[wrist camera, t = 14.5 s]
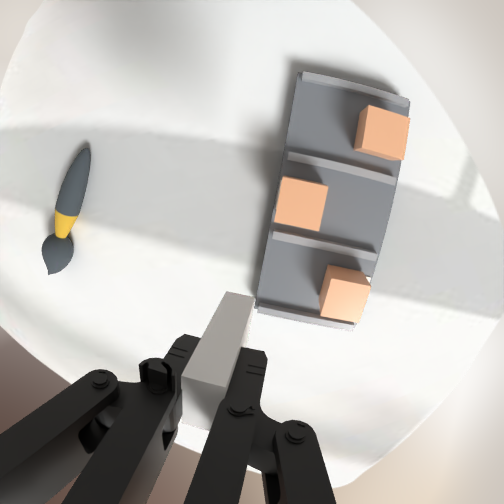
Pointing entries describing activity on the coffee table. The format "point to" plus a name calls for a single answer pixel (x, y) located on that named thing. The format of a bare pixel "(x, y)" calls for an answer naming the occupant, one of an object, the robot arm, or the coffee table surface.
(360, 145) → the tab
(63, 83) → the coffee table surface
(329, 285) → the tan cube
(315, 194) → the peach cube
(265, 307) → the switch bank
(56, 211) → the paintbrush
